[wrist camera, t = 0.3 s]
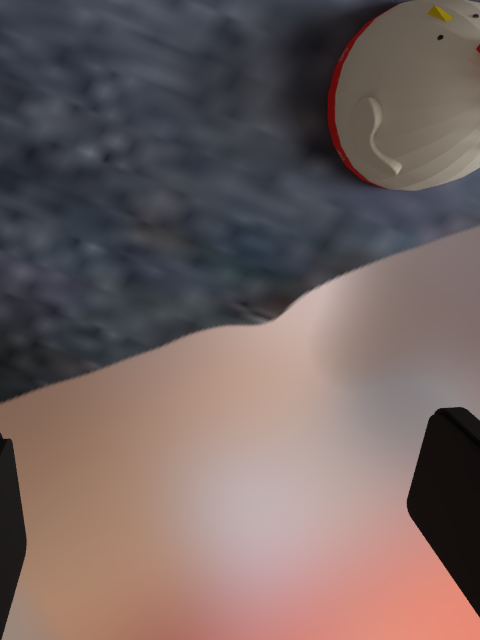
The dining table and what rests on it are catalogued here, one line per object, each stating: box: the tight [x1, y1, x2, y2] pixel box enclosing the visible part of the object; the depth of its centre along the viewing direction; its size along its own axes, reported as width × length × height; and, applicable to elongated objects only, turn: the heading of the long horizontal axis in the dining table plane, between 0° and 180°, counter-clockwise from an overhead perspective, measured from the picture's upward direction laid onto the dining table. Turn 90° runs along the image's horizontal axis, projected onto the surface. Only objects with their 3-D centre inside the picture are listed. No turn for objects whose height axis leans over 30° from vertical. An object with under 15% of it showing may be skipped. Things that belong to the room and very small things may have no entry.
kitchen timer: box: [328, 0, 480, 191], centre depth 31 cm, size 14×14×15 cm
